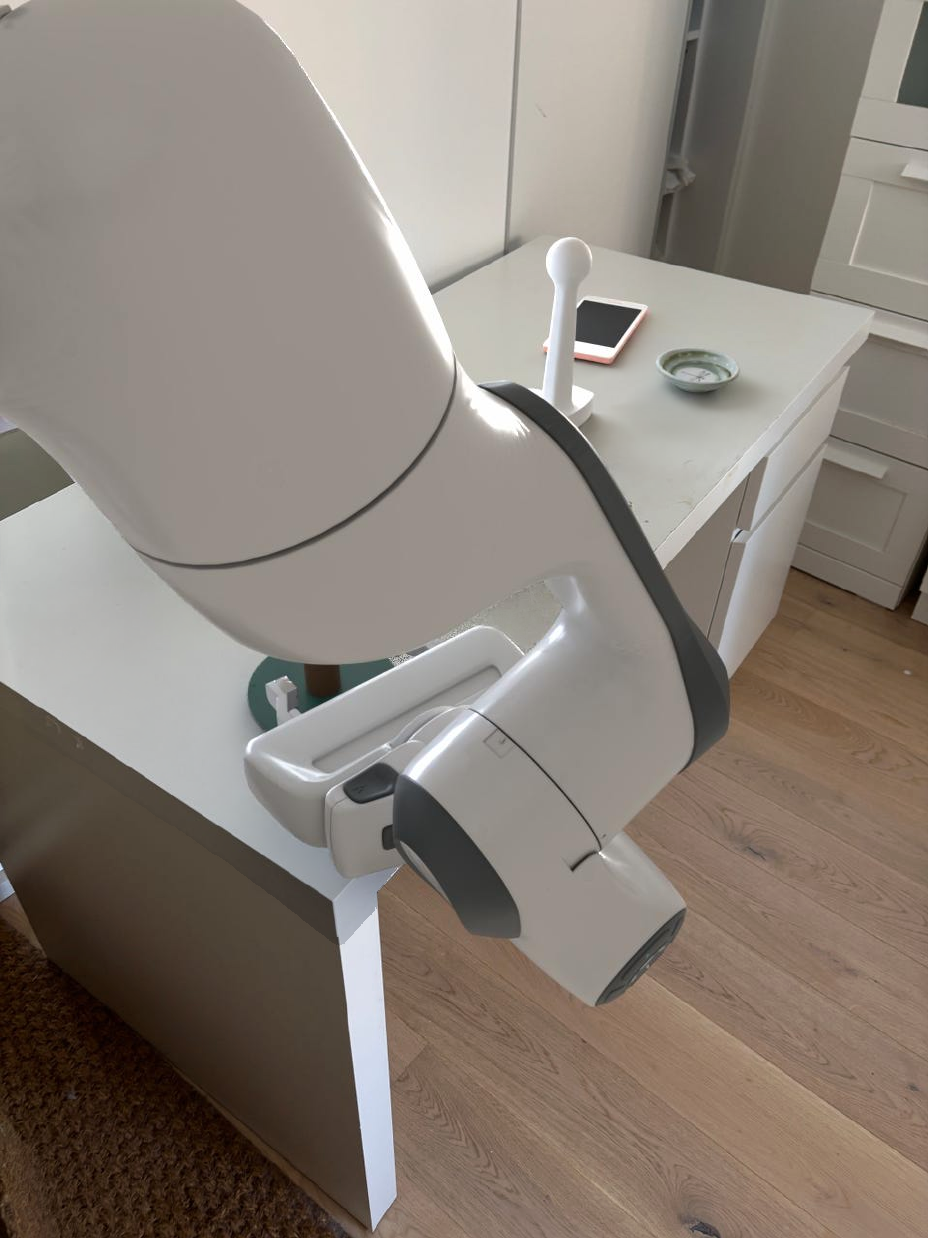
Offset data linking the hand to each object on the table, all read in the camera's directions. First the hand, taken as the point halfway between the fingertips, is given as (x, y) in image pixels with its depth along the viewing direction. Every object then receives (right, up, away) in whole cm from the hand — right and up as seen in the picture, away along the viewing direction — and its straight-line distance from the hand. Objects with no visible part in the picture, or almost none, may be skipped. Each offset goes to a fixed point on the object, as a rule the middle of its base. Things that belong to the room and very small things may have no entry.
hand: (334, 658), depth 68 cm
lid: (-1, -3, +4) cm, 5 cm away
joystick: (+18, +24, +38) cm, 49 cm away
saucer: (+36, +30, +46) cm, 66 cm away
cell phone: (+26, +40, +57) cm, 74 cm away
